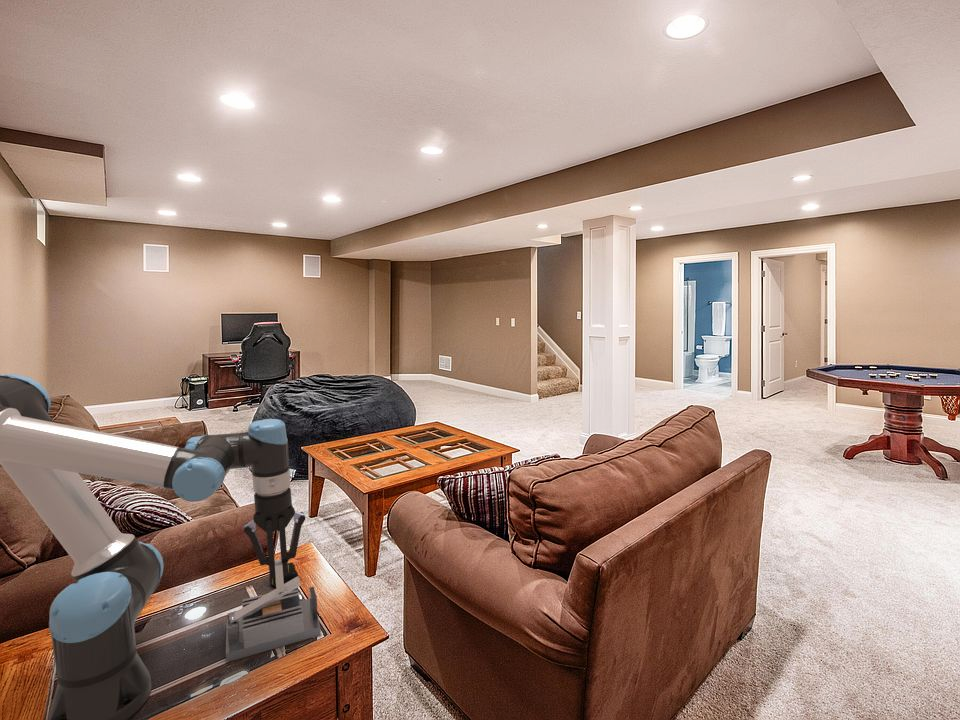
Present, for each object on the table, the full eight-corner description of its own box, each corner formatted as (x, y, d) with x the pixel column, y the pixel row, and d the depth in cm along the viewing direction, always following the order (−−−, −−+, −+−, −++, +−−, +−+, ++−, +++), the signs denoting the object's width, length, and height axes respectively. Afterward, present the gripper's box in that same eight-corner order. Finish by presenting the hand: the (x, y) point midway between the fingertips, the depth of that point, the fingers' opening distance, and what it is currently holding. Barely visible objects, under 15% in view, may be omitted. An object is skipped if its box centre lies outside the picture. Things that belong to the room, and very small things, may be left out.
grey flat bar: (230, 627, 107) (227, 622, 107) (230, 619, 110) (228, 614, 110) (301, 586, 113) (298, 581, 113) (299, 579, 116) (297, 575, 115)
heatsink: (226, 662, 103) (223, 631, 102) (227, 627, 114) (225, 599, 113) (320, 635, 112) (319, 606, 111) (313, 605, 122) (312, 578, 121)
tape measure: (299, 585, 131) (298, 572, 131) (271, 592, 128) (270, 579, 127) (295, 572, 137) (294, 559, 136) (268, 579, 134) (267, 566, 133)
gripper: (239, 502, 103) (248, 606, 106) (305, 490, 109) (312, 589, 112) (239, 489, 110) (248, 588, 113) (301, 478, 115) (308, 573, 119)
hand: (280, 588), depth 112 cm, fingers closed
